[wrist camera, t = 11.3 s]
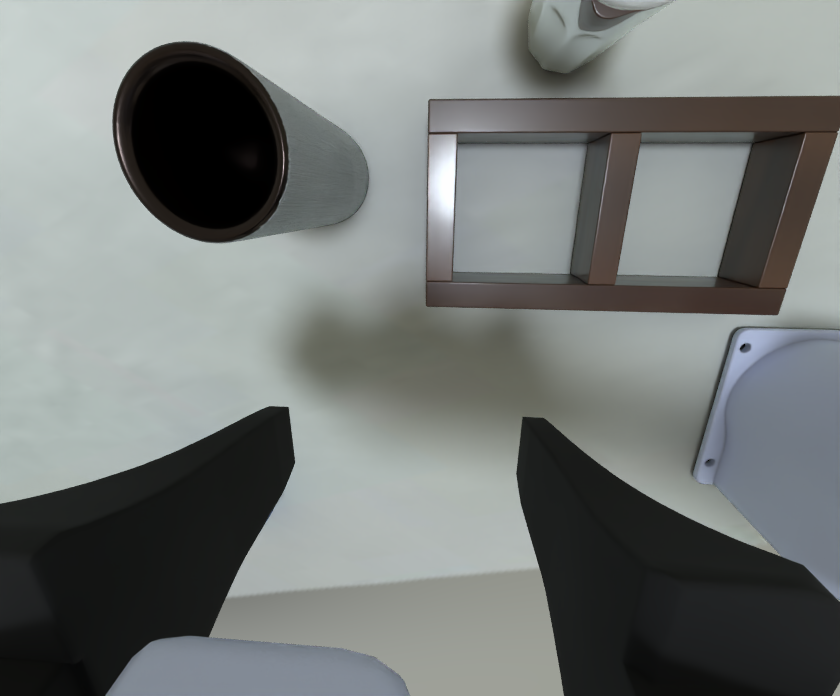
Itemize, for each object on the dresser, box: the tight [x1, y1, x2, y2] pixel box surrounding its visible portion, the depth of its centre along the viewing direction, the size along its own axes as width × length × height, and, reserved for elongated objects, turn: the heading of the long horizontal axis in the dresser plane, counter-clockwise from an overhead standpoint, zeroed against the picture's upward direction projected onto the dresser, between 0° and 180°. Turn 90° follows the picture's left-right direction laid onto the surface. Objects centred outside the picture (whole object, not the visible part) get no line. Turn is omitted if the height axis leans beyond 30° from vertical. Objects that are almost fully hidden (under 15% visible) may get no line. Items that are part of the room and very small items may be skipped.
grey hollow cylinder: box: [112, 41, 368, 243], centre depth 15 cm, size 4×4×10 cm
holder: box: [426, 96, 840, 315], centre depth 18 cm, size 8×16×3 cm, turn 90°
